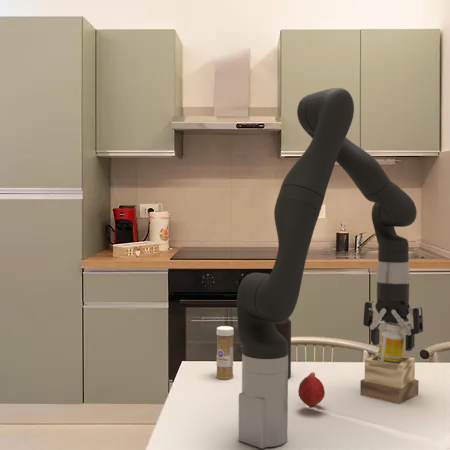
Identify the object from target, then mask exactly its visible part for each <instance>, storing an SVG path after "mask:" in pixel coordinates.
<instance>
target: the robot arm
mask: <svg viewBox="0 0 450 450" xmlns="http://www.w3.org/2000/svg"><path fill="white" fill-rule="evenodd" d="M354 103H355V102H354V98H353V97H352V95H351V93H350V92H349V91H348V90H346V89H344V88H342V87H333V88H328V89H324V90H321V91H320V90H319V91H317V92H313V93H310V94H307V95H305V96H304V97H302V99H300V101H299V102H298V106H297V110H296V112H297V113H296V114H297V119H298V122H299V124H300V126H301V128H302V129H303V131H305V133H307V135H308V136H309V137H310V138H311V141H310V143H309V144H308V147H307V148H306V150H305V151H304V152H303V154H302V155H301V156H300V157H299V158H298V159H297V161H296V162H295V163H294V165H293V166H292V167H291V168H290V170H289V171H288V173H287V174H286V176H285V177H284V179H283V181H282V183H281V185H280V189H279V192H278V195H277V198H276V201H275V206H274V210H273V216H274V225H275V229H276V235H277V243H278V246H277V247H278V248H277V254H276V258H275V261H274V264H273V267H272V270H271V272H270V273H263V272H252V273H251V272H250V273H249V274H247V275H246V276H244V277H243V278H242V280H241V282H240V284H239V286H238V290H237V295H236V312H237V313H236V316H237V333H238V339H239V342H240V343H241V361H242V362H241V365H242V366H241V392H239V393H238V441H239V442H243V443H246V444H248V445H250V446H253V447H256V448H259V449H265V448H270V447H271V448H273V447H278V446H281V445H283V444H285V443H286V442H287V441H288V424H289V423H288V422H289V420H288V419H289V415H288V412H289V408H288V407H289V405H288V404H289V403H288V402H289V400H288V399H289V395H288V394H289V387H288V386H289V379H288V342H287V340H286V339H285V338H284V337H283V336H282V335H281V334H280V333H279V332H278V331H277V329H276V328H275V326H274V323H273V322H275V323H280V322H284V321H285V320H287V319H288V318H289V319H290V317H291V316H292V315H293V312H294V310H295V309H296V306H297V304H298V300H299V295H300V291H301V286H302V282H303V281H302V280H303V276H304V272H305V271H304V270H305V266H306V260H307V257H308V254H309V253H308V252H309V249H310V246H311V241H312V238H313V235H314V230H315V228H316V224H317V221H318V219H319V217H320V214H321V210H322V206H323V204H324V201H325V200H324V199H325V196H326V193H327V188H328V185H329V184H330V183H329V182H330V179H331V176H332V174H333V170H334V168H335V165H336V163H337V164H338V165H339V166H340V167H341V168H342V169H343V170H344V171H345V172H346V174H347V175H348V176H349V178H350V179H351V180H352V181H353V184H355V186H356V187H357V188H358V190H359V191H360V193H361V194H362V195H363V197H364V198H365V199H366V200H367V201H369V202H371V203H373V206H372V208H371V221H372V224H373V225H372V226H373V229H374V234H375V237H376V241H377V244H378V250H377V251H378V252H377V254H378V255H377V258H378V259H377V260H378V261H377V269H376V302H374V301H372V300H370V301H366V302H364V307H363V308H364V309H363V310H364V311H363V326H365V327H368V328H369V329H370V341H371V342H370V343H372V345H373V346H377V345H380V332H381V331H380V326H381V325H382V324H383V323H386V322H392V323H395V324H397V323H399V324H400V326H401V327H402V330H404V332H405V352H411V351H413V349H414V348H415V341H416V339H415V338H416V337H415V335H419V334H420V333H423V332H424V319H423V308H422V307H421V306H417V307H411V306H410V304H409V302H410V281H411V276H410V266H409V265H410V264H409V257H410V255H409V253H410V251H409V250H410V249H409V248H410V247H409V241H408V239H407V238H405V237H403V236H400V235H398V234H397V232H396V229H395V228H397V227H398V228H402V227H403V228H405V227H409V226H411V225H412V224H413V223H415V221H416V219H417V216H418V214H417V212H418V211H417V207H416V204H415V202H414V201H413V200H414V199H412V198H411V196H410V195H409V194H408V193H407V192H405V191H404V190H403V189H402V188H400V187H399V186H398V184H396V183H394V182H393V181H392V180H391V179H390V177H389V176H388V175H387V173H386V171H385V170H384V168H383V167H382V165H380V163H379V162H378V161H377V159H376V158H374V157H373V155H372V154H369V152H367V151H366V150H365V149H362V148H361V147H360V146H358V145H357V144H355V143H354V142H352V141H351V140H350V139H348V137H347V135H348V133H349V130H350V128H351V125H352V123H353V119H354V113H355V104H354ZM375 310H376V312H377V313H378V314H377V315H376V317H375V318H374V311H375ZM409 314H410V315H411V316H412V318H413V319H412V320H413V324H412V321H411V319H410V318H409V316H408V315H409Z"/></svg>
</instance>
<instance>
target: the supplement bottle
mask: <svg viewBox="0 0 450 450" xmlns="http://www.w3.org/2000/svg"><path fill="white" fill-rule="evenodd" d="M402 331H403V328H402V327H401V326H400V324H399V323H397V324H395V323H392V322H384V330H382V331H381V334H380V338H379V349H378V353H379V356H378V361H382V362H388V363H394V364H401V359H402V356H403V350H404V340H405V336H404V334H403V333H402Z"/></svg>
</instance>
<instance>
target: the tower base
mask: <svg viewBox="0 0 450 450" xmlns="http://www.w3.org/2000/svg"><path fill="white" fill-rule="evenodd" d="M359 382H360V387H359V388H360V389H359V390H360V392H359V394H360V396H364V397H367V398H372V399H376V400H380V401H384V402H388V403H392V404H397V405H400V404H403V403H404V402H407V401H408V400H410V399H413V398H415V397H416V396H418V395H419V380H418V379H414V380H413V381H411V382H410V383H409V384H407V385H406V386H404V387H403V388H397V387H392V386H386V385H381V384H376V383H371V382H365V378H363V379H360V381H359Z"/></svg>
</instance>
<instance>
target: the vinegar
mask: <svg viewBox="0 0 450 450" xmlns="http://www.w3.org/2000/svg"><path fill="white" fill-rule="evenodd" d="M273 323H274V326H275V328H276V329H277V331H278V332H279V333H280V334H281V335H282V336H283V337H284V338H285V339H286V340H287V342H288V380H289V379H290V378H291V377H292V320H291V319H290V317H289V318H288V319H287V320H285V321H284V322H280V323H275V322H273Z"/></svg>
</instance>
